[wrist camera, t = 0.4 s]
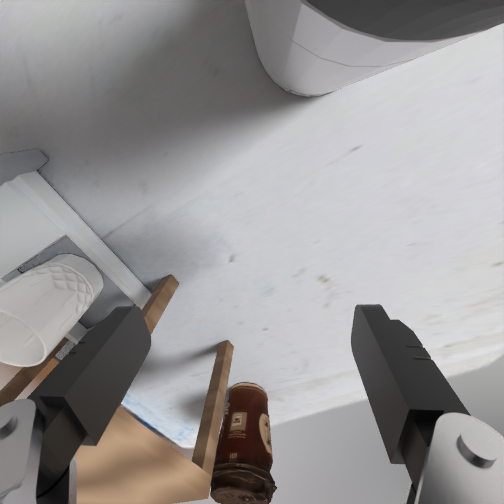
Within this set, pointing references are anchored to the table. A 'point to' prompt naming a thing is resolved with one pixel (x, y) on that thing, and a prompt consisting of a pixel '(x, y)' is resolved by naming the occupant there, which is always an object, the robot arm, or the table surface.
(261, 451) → the coffee cup
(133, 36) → the table surface
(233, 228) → the table surface
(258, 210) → the table surface
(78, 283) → the white cup
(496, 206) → the table surface
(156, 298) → the wooden side table
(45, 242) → the white drawer
